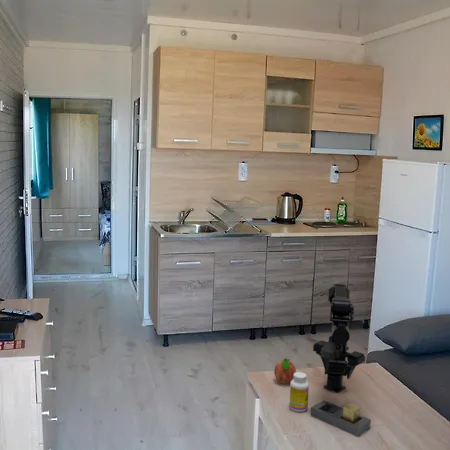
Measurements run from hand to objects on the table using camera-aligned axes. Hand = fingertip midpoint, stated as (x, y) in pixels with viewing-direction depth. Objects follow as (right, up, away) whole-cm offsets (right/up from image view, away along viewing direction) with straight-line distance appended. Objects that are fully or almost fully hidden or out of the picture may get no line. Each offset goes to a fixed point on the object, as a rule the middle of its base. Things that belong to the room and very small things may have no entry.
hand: (337, 374), depth 193 cm
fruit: (-17, -9, +20) cm, 28 cm away
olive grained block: (+2, -14, -13) cm, 19 cm away
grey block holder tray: (-1, -14, -10) cm, 17 cm away
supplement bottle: (-14, -12, -1) cm, 19 cm away
